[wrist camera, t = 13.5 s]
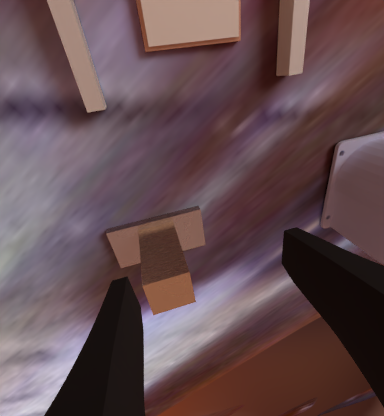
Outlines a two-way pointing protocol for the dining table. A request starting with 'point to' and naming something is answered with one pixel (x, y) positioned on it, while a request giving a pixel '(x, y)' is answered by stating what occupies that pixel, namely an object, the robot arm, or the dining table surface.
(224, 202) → the dining table surface
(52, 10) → the frame
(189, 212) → the scraper
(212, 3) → the tile
